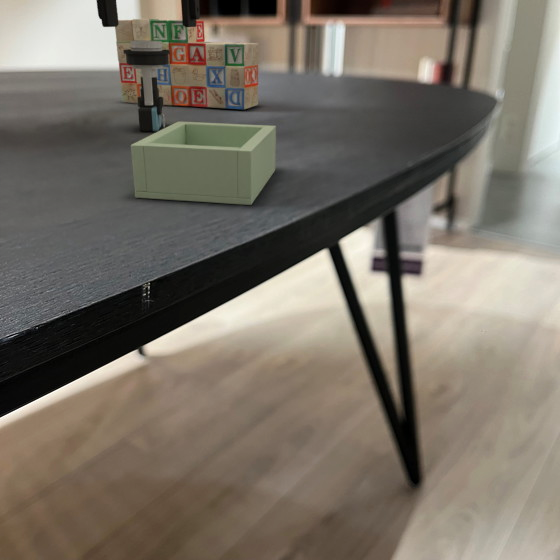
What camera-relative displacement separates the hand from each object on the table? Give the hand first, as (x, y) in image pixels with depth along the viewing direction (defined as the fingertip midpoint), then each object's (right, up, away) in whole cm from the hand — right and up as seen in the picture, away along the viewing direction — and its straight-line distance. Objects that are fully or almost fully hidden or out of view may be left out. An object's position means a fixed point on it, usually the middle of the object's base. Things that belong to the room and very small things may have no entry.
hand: (149, 26), depth 66 cm
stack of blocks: (+1, -2, +25) cm, 25 cm away
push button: (-1, -11, +5) cm, 12 cm away
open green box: (+9, -21, -19) cm, 30 cm away
